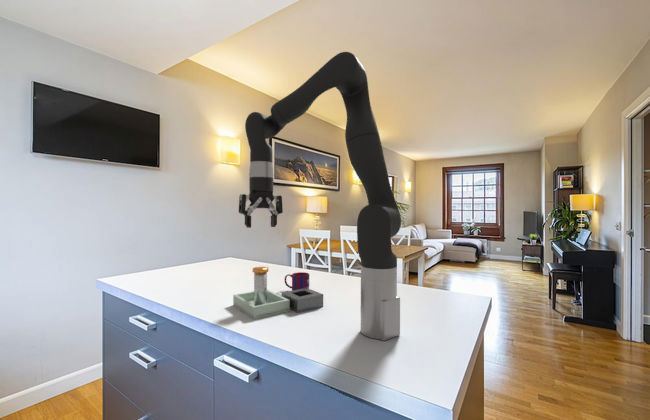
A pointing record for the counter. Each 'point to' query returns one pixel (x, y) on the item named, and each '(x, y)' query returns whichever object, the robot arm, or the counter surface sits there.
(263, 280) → the pin
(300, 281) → the mug
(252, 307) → the tray
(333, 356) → the counter surface
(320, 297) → the block
